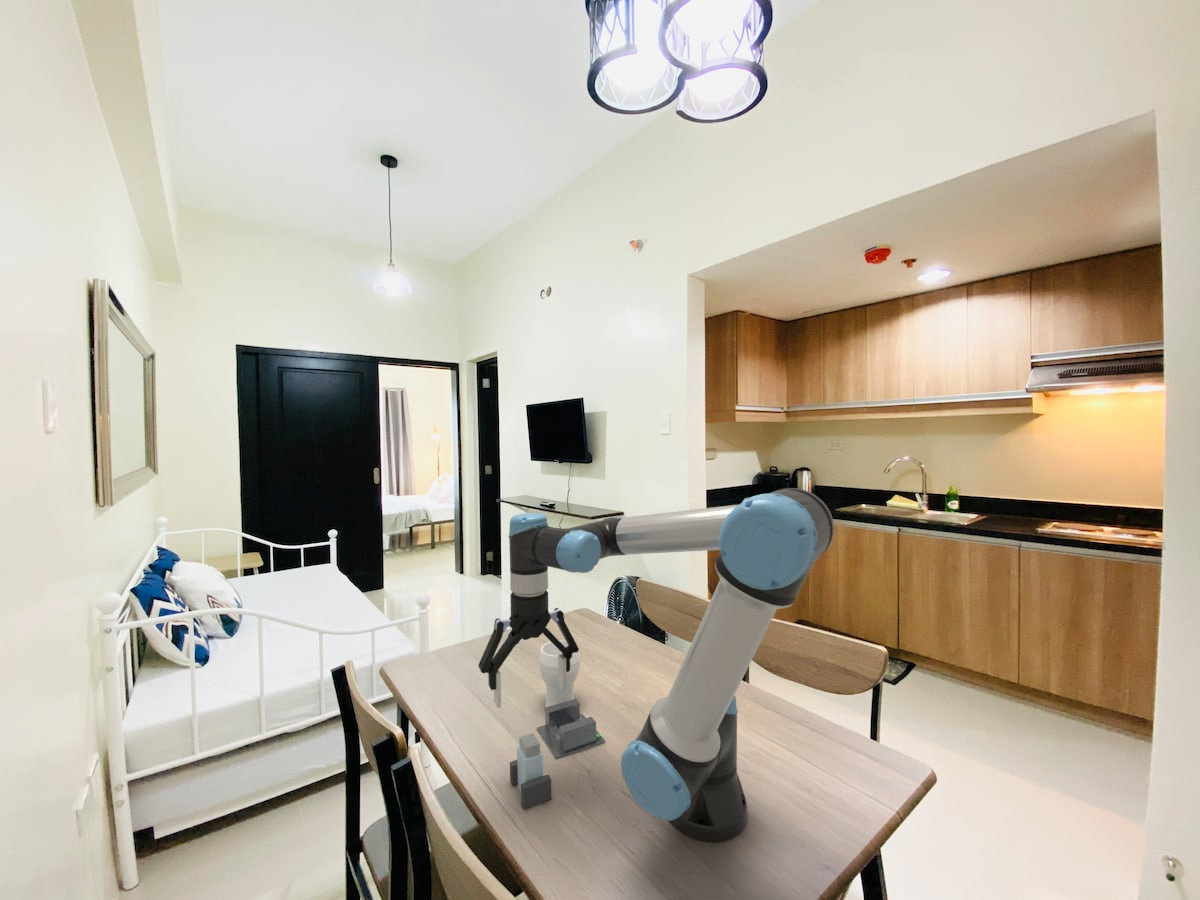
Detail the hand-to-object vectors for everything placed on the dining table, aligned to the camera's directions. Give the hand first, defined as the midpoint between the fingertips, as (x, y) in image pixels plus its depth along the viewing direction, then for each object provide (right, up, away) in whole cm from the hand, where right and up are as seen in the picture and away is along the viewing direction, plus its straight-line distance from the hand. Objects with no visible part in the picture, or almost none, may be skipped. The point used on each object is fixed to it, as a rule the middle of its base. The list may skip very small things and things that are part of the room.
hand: (530, 695), depth 97 cm
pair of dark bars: (0, -17, -2) cm, 18 cm away
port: (+7, -17, +15) cm, 23 cm away
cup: (+4, -17, +28) cm, 33 cm away
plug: (0, -17, -2) cm, 18 cm away
